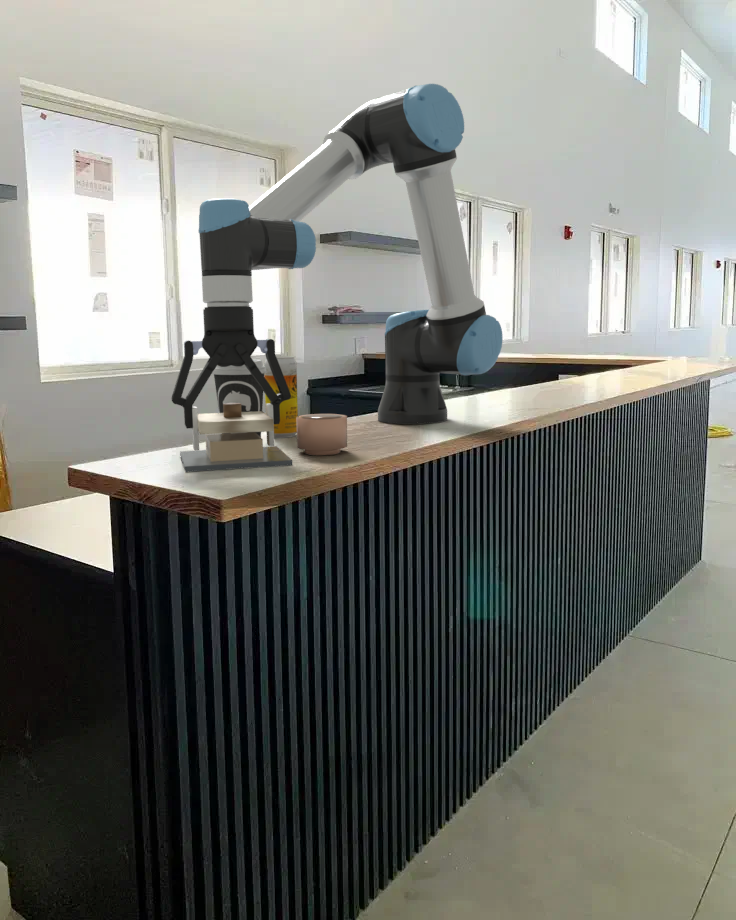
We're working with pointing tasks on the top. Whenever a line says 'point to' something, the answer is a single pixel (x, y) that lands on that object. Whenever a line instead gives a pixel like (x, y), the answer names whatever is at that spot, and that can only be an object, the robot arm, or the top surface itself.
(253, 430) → the lid
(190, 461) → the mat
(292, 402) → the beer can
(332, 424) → the bowl
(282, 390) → the robot arm
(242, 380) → the coffee cup
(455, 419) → the top surface
